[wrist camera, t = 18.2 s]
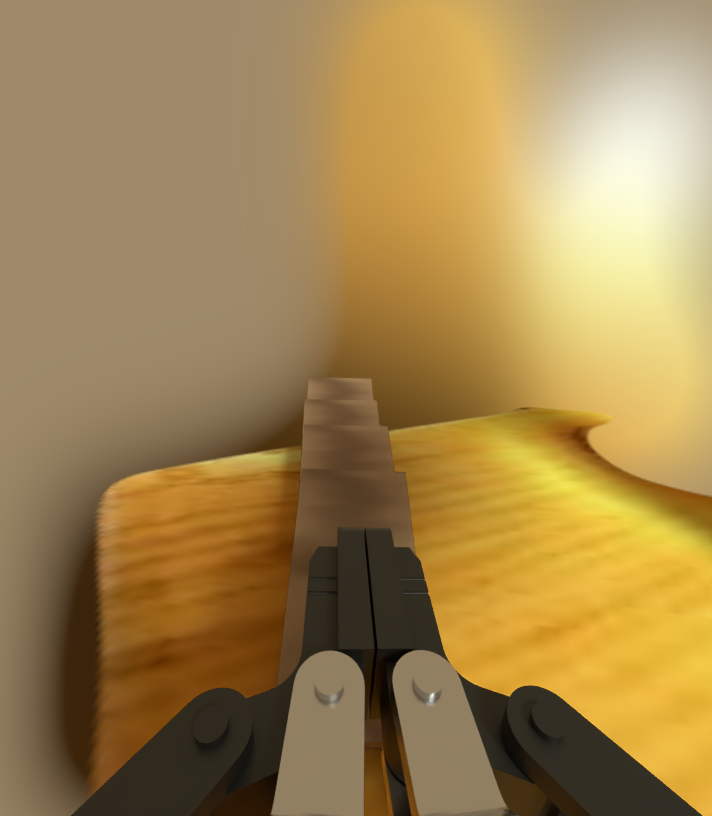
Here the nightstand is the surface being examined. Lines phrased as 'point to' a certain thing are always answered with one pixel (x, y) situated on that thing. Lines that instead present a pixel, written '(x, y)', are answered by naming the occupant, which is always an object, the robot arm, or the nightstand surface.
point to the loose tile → (317, 526)
